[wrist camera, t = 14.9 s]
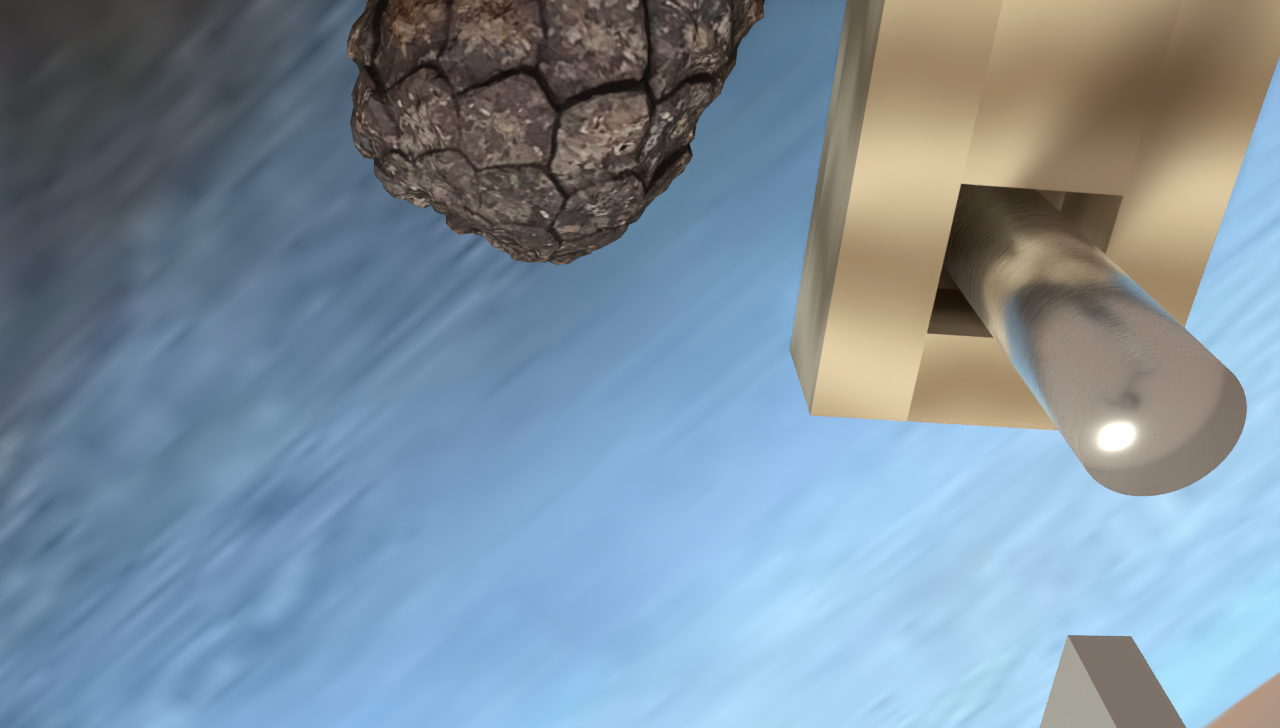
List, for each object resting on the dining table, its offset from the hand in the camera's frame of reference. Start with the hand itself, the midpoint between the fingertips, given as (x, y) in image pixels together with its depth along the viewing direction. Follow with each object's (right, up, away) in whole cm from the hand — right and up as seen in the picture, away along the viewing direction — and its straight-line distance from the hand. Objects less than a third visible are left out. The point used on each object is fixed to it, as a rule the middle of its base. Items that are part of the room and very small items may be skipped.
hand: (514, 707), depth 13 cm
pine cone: (0, +18, +22) cm, 28 cm away
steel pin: (+14, +9, +25) cm, 30 cm away
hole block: (+14, +15, +23) cm, 31 cm away
